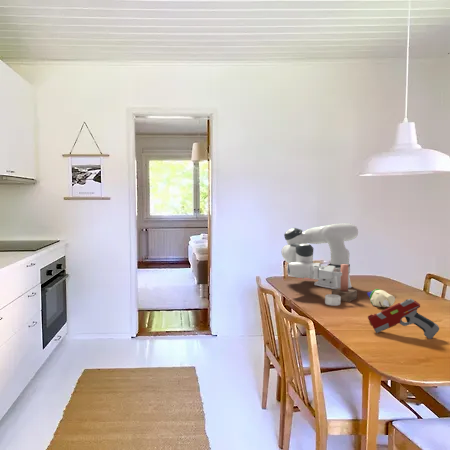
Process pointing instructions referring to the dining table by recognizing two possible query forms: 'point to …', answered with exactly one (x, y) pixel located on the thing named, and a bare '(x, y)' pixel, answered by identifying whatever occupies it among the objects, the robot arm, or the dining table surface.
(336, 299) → the white nut
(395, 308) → the toy gun
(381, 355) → the dining table surface
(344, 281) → the dowel
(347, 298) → the stand
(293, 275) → the robot arm
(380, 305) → the cartoon head
